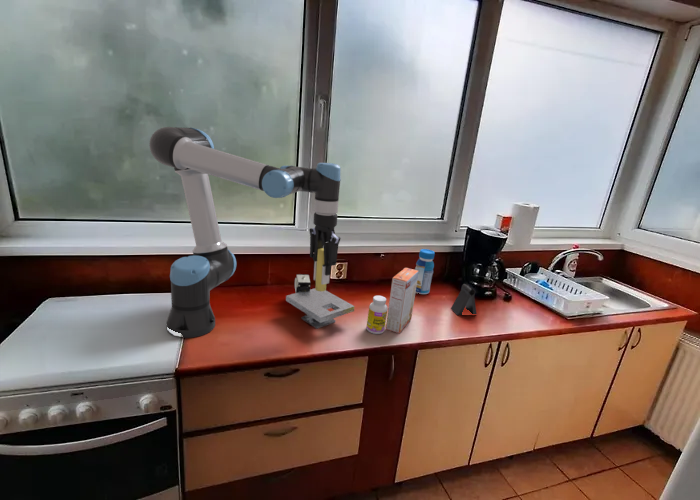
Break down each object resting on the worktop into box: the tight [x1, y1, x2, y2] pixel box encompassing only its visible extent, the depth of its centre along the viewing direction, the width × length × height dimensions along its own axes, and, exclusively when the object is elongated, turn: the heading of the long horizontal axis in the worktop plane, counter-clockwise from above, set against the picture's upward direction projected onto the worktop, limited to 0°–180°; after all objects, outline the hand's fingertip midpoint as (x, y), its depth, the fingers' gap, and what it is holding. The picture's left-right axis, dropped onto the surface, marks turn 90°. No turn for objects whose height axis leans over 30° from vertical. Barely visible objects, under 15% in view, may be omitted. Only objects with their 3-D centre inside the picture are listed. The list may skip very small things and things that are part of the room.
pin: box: [315, 247, 327, 291], centre depth 126 cm, size 4×4×14 cm
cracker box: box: [385, 267, 419, 334], centre depth 142 cm, size 14×6×21 cm, turn 152°
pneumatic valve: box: [294, 273, 311, 293], centre depth 151 cm, size 6×12×12 cm, turn 12°
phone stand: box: [450, 283, 478, 316], centre depth 160 cm, size 9×6×12 cm, turn 103°
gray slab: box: [285, 288, 355, 330], centre depth 140 cm, size 16×20×8 cm
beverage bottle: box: [414, 248, 436, 295], centre depth 176 cm, size 8×8×20 cm
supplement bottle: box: [366, 295, 389, 335], centre depth 137 cm, size 7×7×13 cm
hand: (321, 281), depth 127 cm, fingers closed on pin, 3 cm apart
